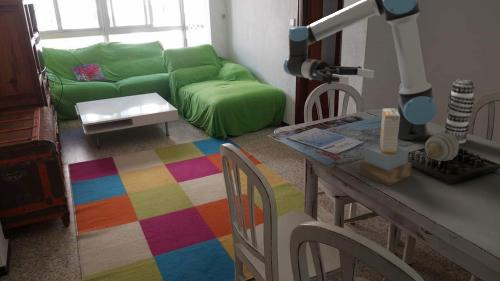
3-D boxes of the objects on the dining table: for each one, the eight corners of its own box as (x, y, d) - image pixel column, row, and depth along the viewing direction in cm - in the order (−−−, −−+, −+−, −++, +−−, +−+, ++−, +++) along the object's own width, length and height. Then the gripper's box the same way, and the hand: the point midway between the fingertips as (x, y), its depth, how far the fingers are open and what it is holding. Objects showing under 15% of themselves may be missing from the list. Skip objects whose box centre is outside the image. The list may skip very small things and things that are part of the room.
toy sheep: (414, 164, 138) (418, 136, 134) (436, 151, 148) (440, 124, 144) (444, 173, 130) (449, 143, 126) (465, 159, 140) (470, 131, 136)
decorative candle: (437, 138, 160) (446, 80, 151) (451, 134, 164) (460, 77, 155) (457, 145, 153) (468, 84, 144) (471, 140, 157) (482, 80, 148)
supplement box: (397, 153, 124) (400, 115, 119) (381, 153, 125) (384, 115, 120) (393, 144, 131) (397, 107, 127) (379, 143, 132) (382, 107, 128)
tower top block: (382, 153, 137) (384, 140, 135) (407, 163, 129) (409, 149, 127) (364, 161, 132) (365, 147, 130) (388, 171, 124) (389, 157, 122)
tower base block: (380, 165, 139) (381, 152, 138) (410, 176, 130) (411, 163, 128) (359, 174, 133) (360, 161, 131) (388, 187, 124) (390, 173, 122)
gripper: (337, 74, 155) (382, 82, 139) (291, 84, 141) (335, 94, 125) (338, 56, 152) (383, 61, 136) (291, 64, 138) (336, 72, 122)
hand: (360, 77), depth 130 cm, fingers open, 13 cm apart
